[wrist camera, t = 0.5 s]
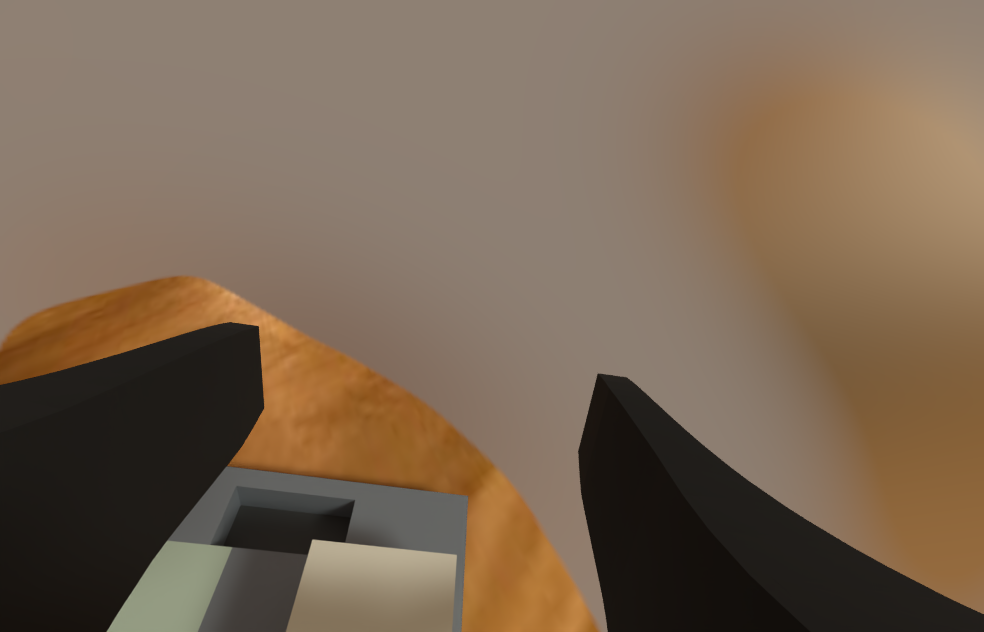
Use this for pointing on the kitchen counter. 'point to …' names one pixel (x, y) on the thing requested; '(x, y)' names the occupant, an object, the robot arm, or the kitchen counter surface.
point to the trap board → (279, 548)
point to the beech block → (374, 590)
